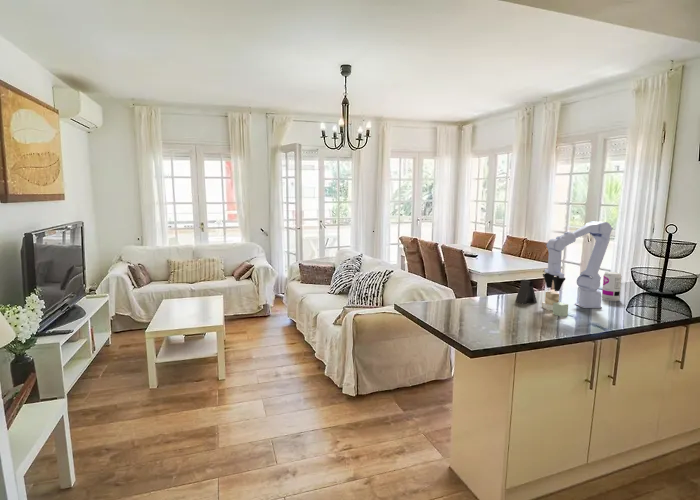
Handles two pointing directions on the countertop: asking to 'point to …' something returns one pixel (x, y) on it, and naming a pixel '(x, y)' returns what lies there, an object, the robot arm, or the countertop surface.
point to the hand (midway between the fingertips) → (552, 289)
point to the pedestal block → (547, 306)
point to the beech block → (551, 298)
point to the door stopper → (526, 293)
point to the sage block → (560, 309)
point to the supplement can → (611, 286)
